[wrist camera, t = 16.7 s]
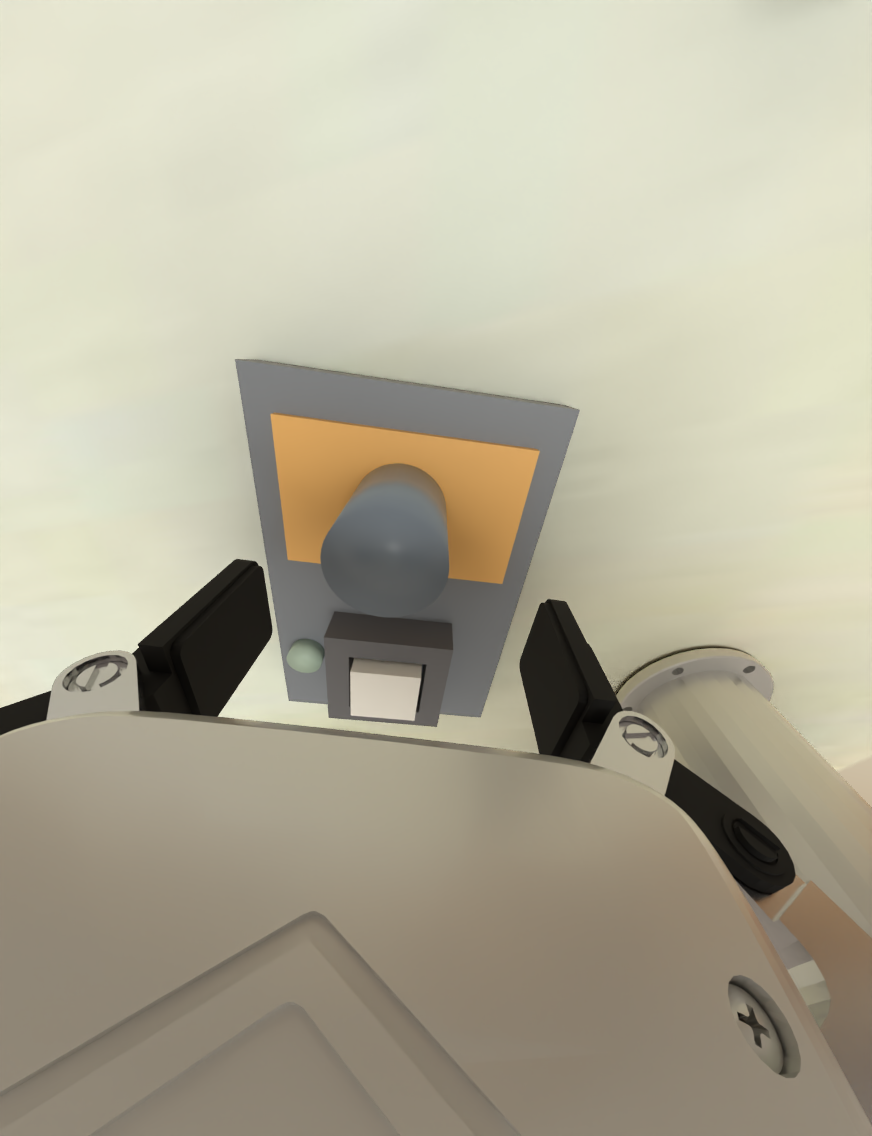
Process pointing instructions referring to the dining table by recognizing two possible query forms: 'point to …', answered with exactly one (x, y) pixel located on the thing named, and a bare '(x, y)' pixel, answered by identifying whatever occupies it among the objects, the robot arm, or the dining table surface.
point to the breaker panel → (473, 505)
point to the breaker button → (384, 689)
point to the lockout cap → (389, 543)
